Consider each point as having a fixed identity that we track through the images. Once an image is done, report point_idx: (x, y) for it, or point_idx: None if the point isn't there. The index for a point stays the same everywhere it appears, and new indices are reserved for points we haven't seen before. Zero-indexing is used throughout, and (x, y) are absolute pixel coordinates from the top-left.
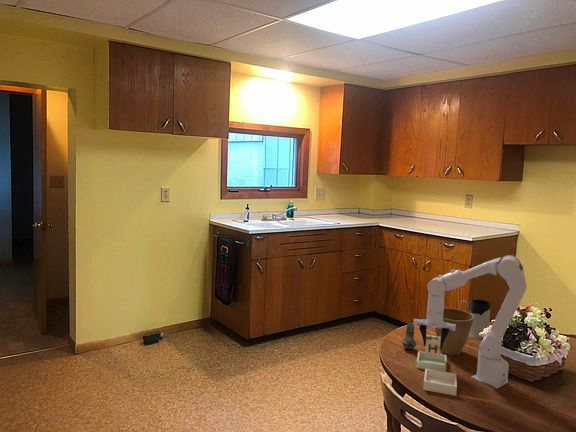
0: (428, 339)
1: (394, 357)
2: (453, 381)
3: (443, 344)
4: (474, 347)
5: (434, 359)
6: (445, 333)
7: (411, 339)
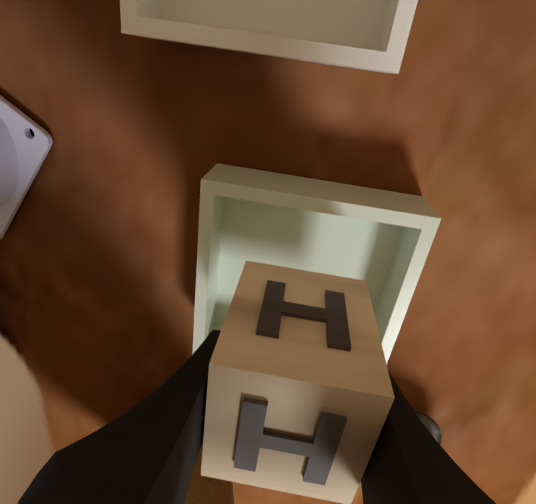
0: (359, 402)
1: (530, 343)
2: (165, 5)
3: (200, 461)
4: None
5: None
6: (86, 468)
7: None
